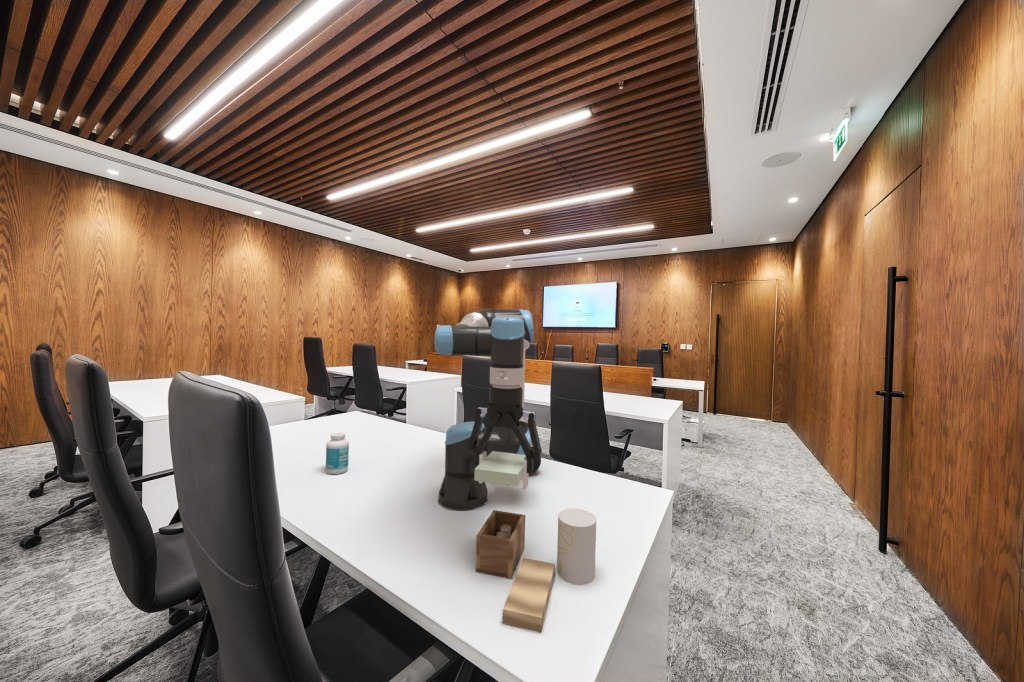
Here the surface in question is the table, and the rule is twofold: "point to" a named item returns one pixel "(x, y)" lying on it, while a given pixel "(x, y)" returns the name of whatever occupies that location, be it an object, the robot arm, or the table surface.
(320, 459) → the table surface
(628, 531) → the table surface
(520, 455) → the lid
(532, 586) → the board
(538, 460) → the black ball
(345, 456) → the pill bottle
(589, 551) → the cup
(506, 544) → the box
